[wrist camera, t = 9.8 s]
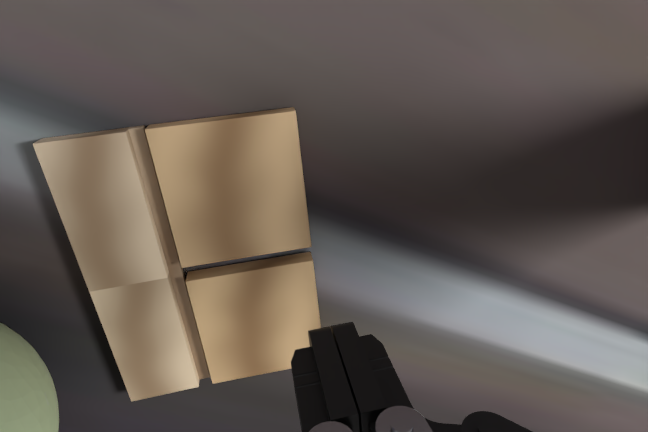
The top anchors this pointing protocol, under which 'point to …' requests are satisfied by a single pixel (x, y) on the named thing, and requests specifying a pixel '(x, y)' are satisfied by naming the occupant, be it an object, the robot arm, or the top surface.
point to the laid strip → (127, 255)
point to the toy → (25, 387)
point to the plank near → (232, 185)
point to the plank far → (254, 314)
